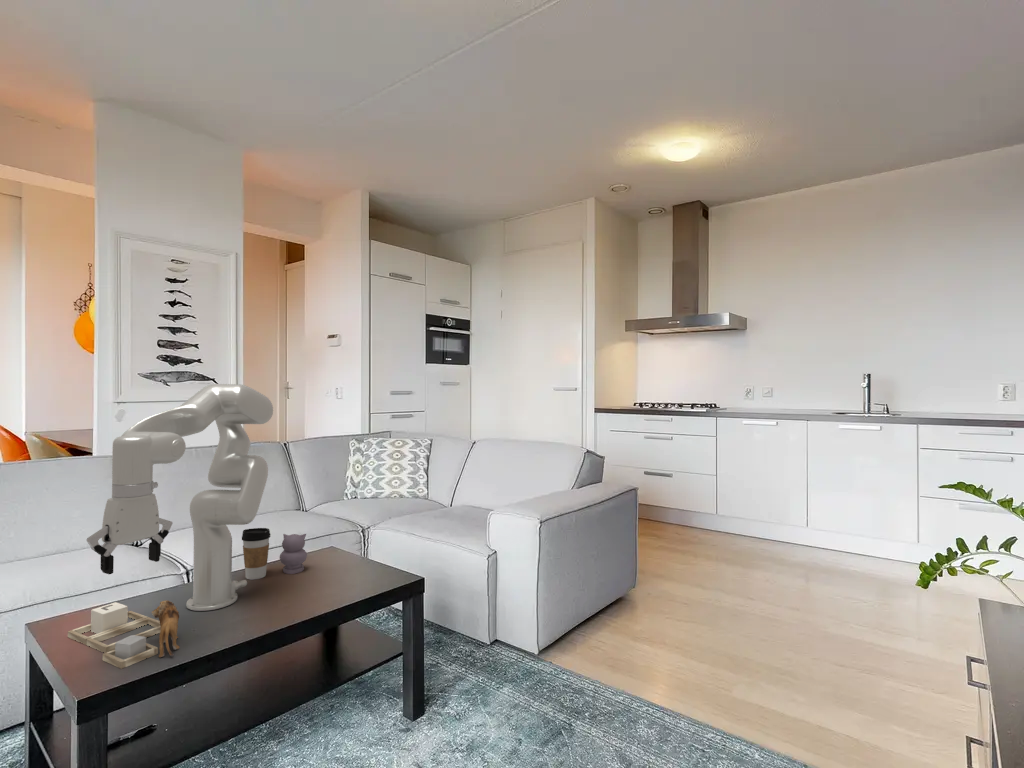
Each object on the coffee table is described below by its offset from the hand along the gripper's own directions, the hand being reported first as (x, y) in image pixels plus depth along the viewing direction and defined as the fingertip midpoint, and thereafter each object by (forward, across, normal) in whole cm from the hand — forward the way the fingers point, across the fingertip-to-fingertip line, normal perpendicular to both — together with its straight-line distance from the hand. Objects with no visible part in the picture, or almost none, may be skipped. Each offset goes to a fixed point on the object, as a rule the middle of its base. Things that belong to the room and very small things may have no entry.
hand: (131, 566), depth 123 cm
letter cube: (+20, -5, -19) cm, 29 cm away
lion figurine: (+21, -7, +2) cm, 22 cm away
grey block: (+20, 0, 0) cm, 20 cm away
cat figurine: (+20, -58, -15) cm, 63 cm away
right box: (+20, -5, -19) cm, 29 cm away
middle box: (+20, -5, -11) cm, 24 cm away
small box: (+20, 0, 0) cm, 20 cm away
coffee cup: (+20, -48, -21) cm, 57 cm away
